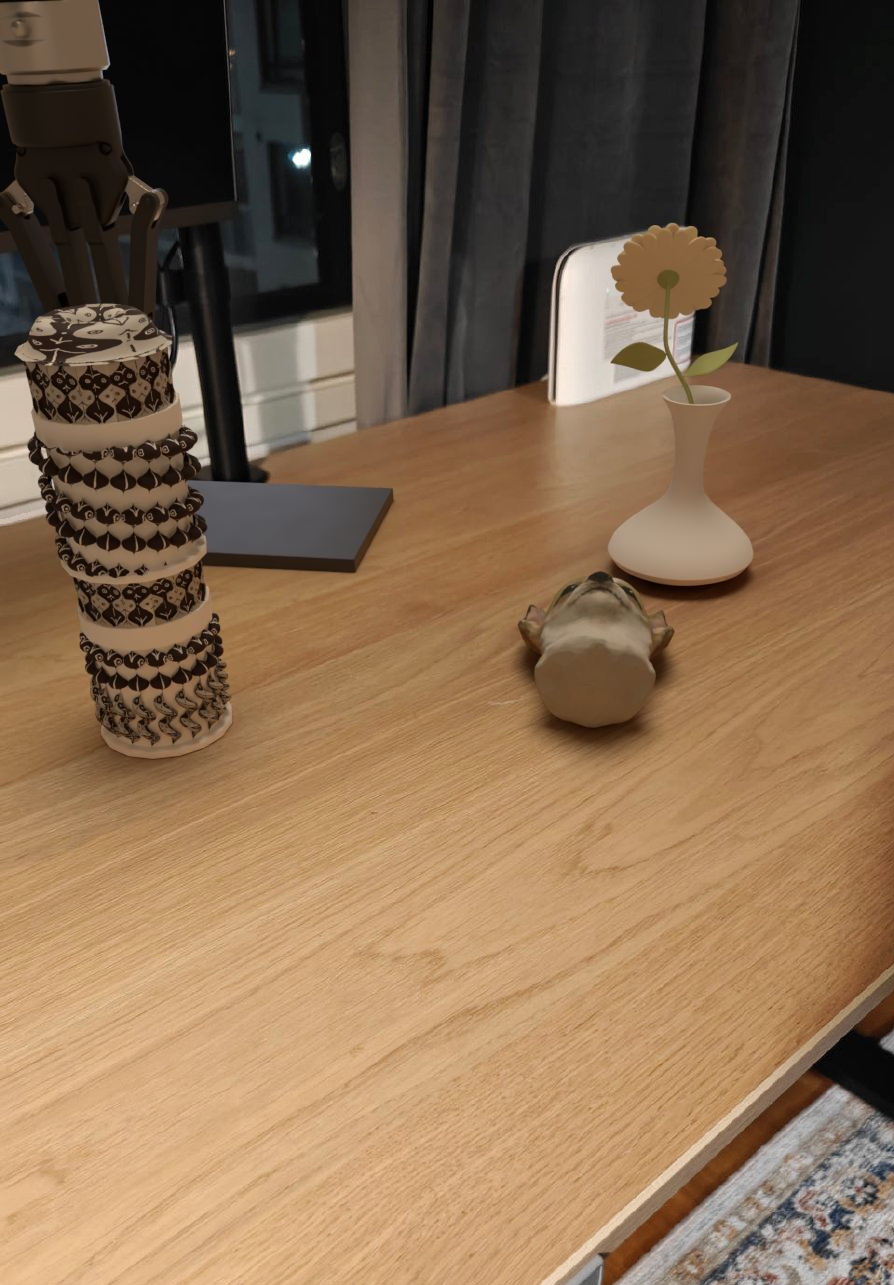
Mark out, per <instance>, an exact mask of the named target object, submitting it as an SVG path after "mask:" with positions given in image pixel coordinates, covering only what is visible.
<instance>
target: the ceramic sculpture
mask: <svg viewBox="0 0 894 1285" xmlns="http://www.w3.org/2000/svg"><path fill="white" fill-rule="evenodd" d="M517 627H518V631H519V633H520V635H521V638H522V640H523V641H524V643H525V644H526V646H528V647H529V648H530V649H532V650H533V651H534V652H536V653H537V654H538V655H540V656H541V657H539V659H538V662H537V663H536V665H535V666H534V670H533V672H534V674H533V675H534V676H533V677H534V681H535V686H536V688H537V691H538V694H539V696H540V698H541V700H542V702H543V704H544V705H545V706H546V708H547V710H548V711H549V712H550V713H551V714H552V715H553V716H555V717H556V718H558V719H560V720H562V721H566V722H571V723H574V724H576V725H579V726H583V727H585V728H590V729H591V728H593V729H596V728H599V727H605V726H609V725H613V724H621V723H624V722H627V721H628V720H631V719H632V718H634V717H635V715H636V714H638V713H639V711H640V710H641V709H642V708H643V707H644V706H645V704H646V702H647V701H648V699H649V697H650V695H651V693H652V690H653V689H654V686H655V683H656V678H657V675H656V670H655V669H654V666H653V664H652V662H651V661H650V660H651V659H653V658H655V657H656V656H658V655H660V653H663V651H665V649H666V648H668V647H669V644H670V642H672V639H673V637H674V634H675V629H674V627H672V626H670V625H668V623H667V620H666V615H665V612H664V610H663V609H660V610H658V611H656V612H655V613H652V614H649V615H648V613H647V610H646V608H645V605H644V601H643V599H642V597H641V595H640V593H639V592H638V591H637V590H636V588H635V587H633V586H632V585H631V584H630V583H629V582H627V581H625V580H623V579H621V578H618V577H613V576H611V574H609V573H607V572H605V571H602V570H599V571H595V572H592V573H591V574H590V575H588V576H579V577H576V578H573V579H572V580H570V581H568V582H567V583H565V584H563V585H562V586H561V587H560V588H559V589H558V590H557V592H556V593H555V595H554V597H553V599H552V601H551V603H550V605H549V607H548V609H547V610H543V609H541V608H538V607H536V605H534V604H532V603H531V604H529V605H528V608H527V611H526V614H525V617H523V619H520V620H519V621H518V623H517Z"/></svg>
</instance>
